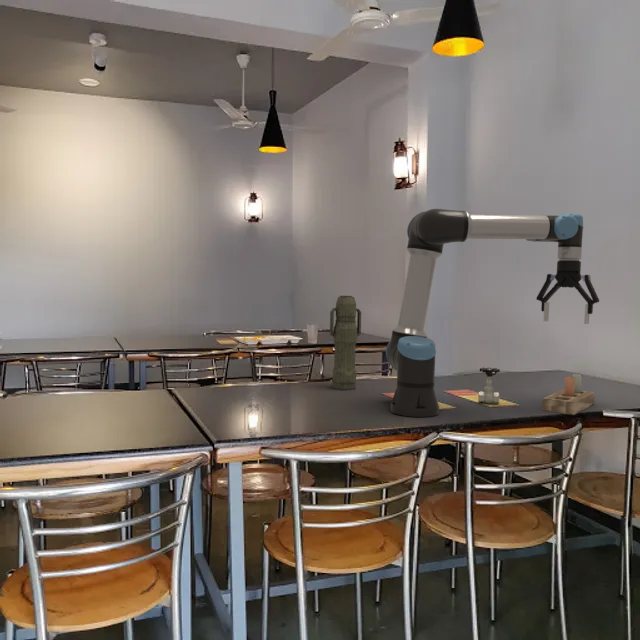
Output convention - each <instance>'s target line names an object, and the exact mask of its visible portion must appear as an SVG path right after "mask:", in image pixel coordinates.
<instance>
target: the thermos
mask: <svg viewBox="0 0 640 640" xmlns="http://www.w3.org/2000/svg"><path fill="white" fill-rule="evenodd" d="M334 312H335V313H334ZM329 315H330V316H329V334H330V336H332V337H333V343H334V364H333V365H334V366H333V369H332V389H334V390H336V391H354V390H356V388H357V387H356V383H357V369H356V348H357V343H358V337H359V336H360V335H361V334H362V311H361V310H360V309H359V308H357V301H356V299H355V297H354V296H353V295H339V296H338V297H337V300H336V302H335V307H333V308H332V309H331V310H330V312H329ZM334 315H335V317H336V318H334ZM356 318H357V321H356ZM334 319H335V323H334Z"/></svg>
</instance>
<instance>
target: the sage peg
mask: <svg viewBox="0 0 640 640" xmlns="http://www.w3.org/2000/svg"><path fill="white" fill-rule="evenodd" d="M571 377H574V378H575V388H574V393H579V394H581V391H582V382H583V381H582V377H583V376H582V374H578V373H573V374H572V376H571Z"/></svg>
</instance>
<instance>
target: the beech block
mask: <svg viewBox="0 0 640 640" xmlns="http://www.w3.org/2000/svg"><path fill="white" fill-rule="evenodd" d="M595 394H596V393H595V392H594V391H587V390H581V394H579V393H574V397H570V396H565V388H563V389H561V390H559V391H556V392H555V393H552V394H550V395H548V396H545V397H542V408H541V409H542V411H544V412H551V413H559V414H564V415H572V416H575V415H577V414H578V413H580V412H582V411H585V410H586V409H588V408H589V407H591V406H592V404H593V405H594V404H595ZM590 405H591V406H590Z"/></svg>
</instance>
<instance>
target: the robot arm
mask: <svg viewBox="0 0 640 640" xmlns="http://www.w3.org/2000/svg"><path fill="white" fill-rule="evenodd" d="M406 230H407V231H406V232H407V234H406V235H407V238H408V241H407V246H406V250H407V252H408V254H409V255H410V257H409V262H408V268H407V274H406V279H405V284H404V291H403V295H402V301H401V308H400V311H399V319H398V323H397V324H398V325H397V326H395V327H394V328H393V329H392V331H391V332H392V333H391V338H390V340H389V342H388V343H387V345H386V348H385V357H386V360H387V362H388V363H389V365H390V366H391V367H392V369H394V370H395V371H396V373H397V374H396V389H395V391H394V395H393V397H392V400H391V403H390V412H391V413H393V414H395V415H399V416H403V417H411V418H412V417H413V418H427V417H428V418H429V417H434V416H435V417H436V416H438V415H439V414H440V405H439V401H438V397H437V395H436V391H435V376H436V373H435V372H436V371H435V370H436V367H435V366H436V354H437V349H436V343H435V341H434V340H433V339H431V338H429V337H428V335H427V334H426V332H425V330H424V328H425V324H426V323H425V322H426V318H427V311H428V307H429V302H430V301H429V300H430V295H431V289H432V285H433V280H434V279H433V278H434V273H435V268H436V261H437V260H438V258H440V257H441V256H442V254H443V250H444V249H443V248H444V245H445V244H446V245H447V244H450V243H465V242H467V240H468V239H471V240H474V239H476V240H477V239H480V240H481V239H482V240H526V241H527V242H536V243H537V242H545V243H546V242H548V243H549V242H552V243H557V259H558V260H557V263H556V274H552V273H547V274H546V278H545V279H546V280H545V281H544V283H543V285H542V287H541V289H540V291H539V292H538V294H537V296H536V301H539V302H541V308H540V310H541V312H543V322H549V319H550V318H549V317H550V316H549V313H550V302H548V301H549V300H550V299H551V298H552V296H553V295H555V293H556V292H557V291H558V290H559V289H560V288H571V289H572V288H575V289H576V290H577V292H578V293H579V294H580V296H581V297H582V298H583V299H584V300H585V302H586V303H587V304H586V303H585V306H584V320H583V321H584V322H583V323H584V324H585V325H589V324H590V315H592V314H593V310H594V305H595V304H597V303H599V302H600V298H599V297H598V295H597V292H596V290H595V288H594V286H593V284H592V282H591V275H590V274H584V275H582V273H581V268H582V266H581V265H582V261H581V259H582V251H583V250H582V248H583V247H582V245H583V232H584V218H583V215H582V214H580V213H562V214H560V215H545V214H544V215H543V214H541V215H540V214H536V215H535V214H532V215H531V214H486V213H485V214H484V213H483V214H481V213H480V214H472V213H468V211H467V210H454V209H453V210H452V209H444V208H432V209H428V210H426V211H425V210H424V211H421V212H419V213H417V214H416V215H414V216H413V217H412V219H411V220H410V221H409V222H408V225H407V229H406ZM554 280H556V283H555V284H554V285H553V286H552V288H551V289H550V290H549V291H548V289H549V287H550V285H551V284H552V282H553V281H554ZM581 280H582V281H583V282H584V284H585V286H586V288H587V290H588V292H589V294H590V296H591V297H590V296H589V294H588V293H587V292H586V291H585V289H584V288H583V287H582V285H581V284H580V283H579V282H580V281H581ZM547 291H548V292H547ZM546 292H547V293H546Z"/></svg>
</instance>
